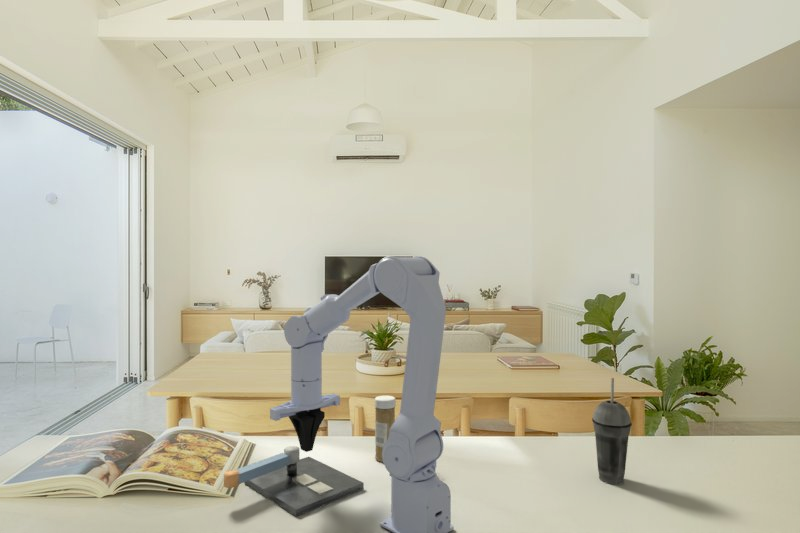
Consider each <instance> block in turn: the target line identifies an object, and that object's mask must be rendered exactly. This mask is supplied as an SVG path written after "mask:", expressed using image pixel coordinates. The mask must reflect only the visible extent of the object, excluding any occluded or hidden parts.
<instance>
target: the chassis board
mask: <svg viewBox="0 0 800 533" xmlns="http://www.w3.org/2000/svg"><path fill="white" fill-rule="evenodd" d="M244 484H245V485H246V486H248V487H250V488H251V489H252V490H254V491H255V492H257V493H259V494H261V495H262V496H263V497H264V498H266V499H268V500H270V501H271V502H272V503H273V504H276V505H278V506H279V507H280V508H282V509H283V510H285V511H287V512H288V513H289V514H291V515H293V516H294V517H299V516H301V515H304V514H306V513H309V512H311V511H314V510H315V509H318V508H320V507H323V506H326V505H328V504H330V503H332V502H335V501H337V500H340V499H343V498H346V497H348V496H350V495H352V494H354V493H357V492H360V491H362V490H364V482H363V481H361V480H358V478H357V479H356V478H354V477H352V476H351V475H348V474H346V473H344V472H342V471H340V470H338V469H336V468H334V467H331V466H329V465H327V463H326V464H325V463H323V462H322V461H319V460H317V459H315V458H313V457H310V456H306V457H303V458H299V462H298V463H295V464H290V465H288V466H285V467H282V468H280V469H277V470H275V471H272V472H270V473H267V474H264V475H262V476H259V477H257V478H254V479H252V480H249V481H246V482H244Z"/></svg>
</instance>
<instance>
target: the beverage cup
mask: <svg viewBox="0 0 800 533" xmlns="http://www.w3.org/2000/svg"><path fill="white" fill-rule="evenodd" d="M614 385H615V378H614V377H611V378H610V400H605V401H603V402H601V403H599V404H597V406H596V408H595V409H594V412H593V414H592V419H591V421H592V425H593V429H594V433H595V434H594V436H595V448H596V459H597V460H596V462H597V471H598V480H600V482H603V483H605V484H609V485H621V484H623V483H624V480H625V473H626V465H627V464H626V463H627V456H628V446H629V445H628V444H629V435H630V433H631V429H632V428H631V427H632V425H633V424H632V421H631V420H632V419H631V416H630V413H629V411H628V410H627V408H626V407H625V406H624V405H623V404H621V403H620V402H618V401H616V400H614V394H615V393H614V392H615V386H614Z"/></svg>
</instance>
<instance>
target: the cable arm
mask: <svg viewBox="0 0 800 533" xmlns="http://www.w3.org/2000/svg"><path fill="white" fill-rule="evenodd" d="M299 460H300V447H299V446H295V445H292V446H286V447H285V448H284V449H283V452H280V453H277V454H275V455H273V456H270V457H267V458H264V459H261V460H259V461H257V462H253V463H250V464H248V465H245V466H242V467H239V468H236V469H233V470H228V471H226V472H224V473H223V487H224V488H226V489H233V488H235V487H238V486H239V485H240V484H243V483H244V482H246V481H249V480H252V479H254V478H257V477H259V476H262V475H264V474H267V473H270V472H272V471H275V470H277V469H280V468H282V467H285V466H288V465H290V464H295V463H298V462H299ZM244 484H245V483H244Z"/></svg>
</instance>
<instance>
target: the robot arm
mask: <svg viewBox="0 0 800 533" xmlns="http://www.w3.org/2000/svg"><path fill="white" fill-rule="evenodd" d="M440 274H441V272H440V271H439V270H438V268H436V266H435V265H434V264H433V263H432V262H431V261H430V260H429V259H428V258H427V257H423V256H413V257H412V256H411V257H409V256H407V257H405V256H402V257H400V256H398V257H396V256H392V255H391V256H390V255H389V256H385V257H383V258H381V259H380V260H379V261H378V262H376V263H374V264H372V265H370V267H369V269H368V271H366V272H365V273H363V275H362V276H360V278H358V279H357V280H356V281H355V282H353V283H352V284H351V285H350V286H349V287H348V288H346V289H345V290H343V291H342V293H340V294H339V295H338V294H334V293H333V294H332V293H331V294H323V295H322V296H321V297H319V298H320V301H319V302H318V303H316V304H315V305H314V306H312V307H307V308H306V309H305V310H304V313H303V314H302V315H292V316H290V317H289V319H288V320H286V323H285V325H284V329H283V330H284V331H283V334H284V337H285V338H284V339H285V340H286V342H287V343H288V345H289V347H290V383H291V385H290V387H291V388H290V391H291V392H290V396H291V397H290V400H289V401H287V402H285V403H281V404H280V405H277V406H273V407H270V408H269V419H271V420H272V421H275V422H277V421H281V419H283V418H287V417H288V418H289V421H290V422H291V423H292V425H293V428H294V430H295V433H296V436H297V438H298V442H299V446H300V447H299V448H300V450H302V451H304V452H306V453H307V452H311V451H313V449H314V446H315V440H316V438H317V437H316V436H317V435H318V434H317V433H318V431H319V428H320V426H321V424H322V422H323V420H324V419H325V416H326V415H325V411H322V409H325V408H329V407H332V406H335V407H337V406H340V405H341V396H340V395H339V394H336V393H331V394H325V395H322V394H323V393H322V392H323V388H322V387H323V384H322V382H323V381H322V380H323V379H322V378H323V376H322V375H323V374H322V373H323V372H322V370H323V368H322V366H323V364H322V360H323V358H322V353H323V351H324V350H325V347H324V346H325V341H326V340H327V339H328V336H329V334H330V333H332V332H333V331H334V330H336V329H338V328H339V327H340V326H342V325H344V324H345V323H346V322H348V321H349V319H350V317H351V311H352V310H354V309H356V308H358V307H359V306H361V305H362V304H364V303H365V302H367V301H368V300H371V298H374V297H375V296H377V295H378V294H380V293H381V294H382V295H383V296H385V297H386V298H387V299H389V300H391V301H392V302H393V303H395V304H396V306H397V305H398V306H399V307H400V308H402V310H403V311H404V312H405V313H406V314H407V315H408V317H409V319H410V320H409V327H408V328H409V330H408V338H407V346H406V347H407V348H406V356H405V366H404V373H403V374H404V375H403V382H402V393H401V399H400V408H399V414H398V415H397V417H395V418H396V419H395V421H394V423H393V425H392V426H391V428H390V432H389V437H388V440H387V442H386V443H385V445H384V447H383V450H382V459H383V462H382V463H383V465H384V467H385V469H386V471H388V473H389V477H391V480H390V481H391V482H390V484H391V485H390V486H391V488H390V489H391V490H390V491H391V492H390V493H391V494H390V495H391V496H390V497H391V498H390V499H391V500H390V502H391V503H390V505H391V506H390V509H391V510H390V512H391V513H390V514H391V515H390V516H389V517H388V518H385V519H383V520H381V521H380V522H379V525H380V527H383V528H385V529H386V530H388V531H390V532H392V533H450V532H451V531H453V530H454V529H455V528H454V525H453V524H451V520H452V518H451V514H452V512H451V510H452V508H451V506H452V504H451V502H452V501H451V498H452V495H451V489H450V486H449V485H448V484H447V483H445V482H444V481H443V480H441V479H440V477H439V476H438V475H437V473H436V468H437V460H438V459H439V458H440V457H441V456H442V454H443V451H444V440H443V436H442V433H441V431H442V430H441V429H442V428H441V427H442V422H441V420H440V419H439V418H437V417H436V416H435V415H434V414H435V405H436V398H437V390H438V389H437V388H438V381H439V380H438V379H439V371H440V364H441V356H442V346H443V339H444V330H445V324H446V322H445V321H446V315H447V314H446V312H447V307H446V304H445V300H444V297H443V294H442V289H441V286H440V283H439V281H440Z"/></svg>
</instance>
